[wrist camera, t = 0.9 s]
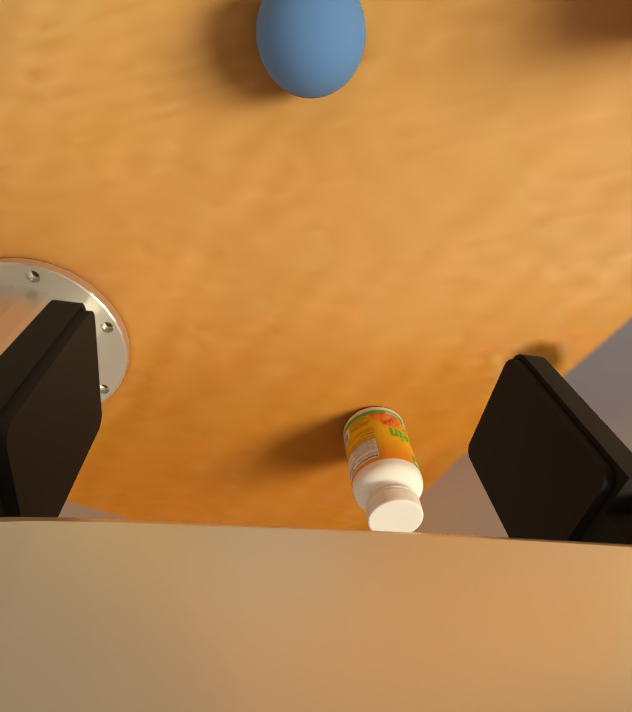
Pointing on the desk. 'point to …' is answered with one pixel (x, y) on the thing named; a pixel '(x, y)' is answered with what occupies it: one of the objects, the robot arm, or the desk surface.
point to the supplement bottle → (383, 470)
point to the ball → (310, 43)
